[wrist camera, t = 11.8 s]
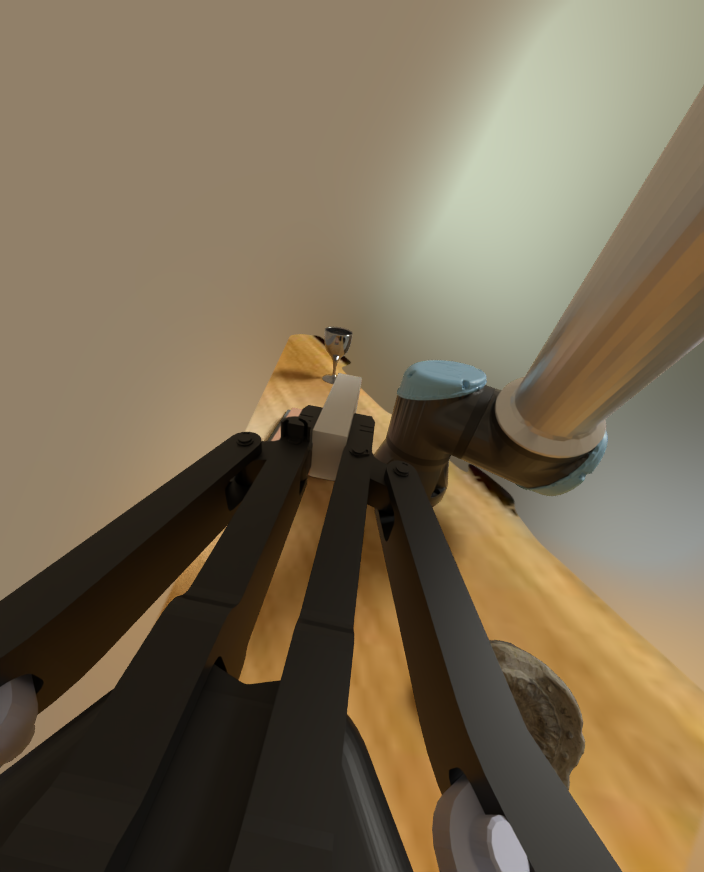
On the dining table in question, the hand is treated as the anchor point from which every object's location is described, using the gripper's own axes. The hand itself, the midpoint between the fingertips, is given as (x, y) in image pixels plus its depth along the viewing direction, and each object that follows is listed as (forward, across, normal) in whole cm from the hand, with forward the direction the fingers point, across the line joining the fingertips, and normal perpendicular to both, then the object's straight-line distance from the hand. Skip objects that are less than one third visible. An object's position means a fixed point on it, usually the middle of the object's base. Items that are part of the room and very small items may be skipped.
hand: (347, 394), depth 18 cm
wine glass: (+64, -10, -28) cm, 71 cm away
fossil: (-7, +20, -28) cm, 35 cm away
